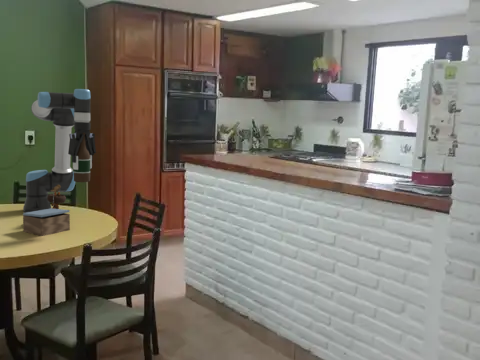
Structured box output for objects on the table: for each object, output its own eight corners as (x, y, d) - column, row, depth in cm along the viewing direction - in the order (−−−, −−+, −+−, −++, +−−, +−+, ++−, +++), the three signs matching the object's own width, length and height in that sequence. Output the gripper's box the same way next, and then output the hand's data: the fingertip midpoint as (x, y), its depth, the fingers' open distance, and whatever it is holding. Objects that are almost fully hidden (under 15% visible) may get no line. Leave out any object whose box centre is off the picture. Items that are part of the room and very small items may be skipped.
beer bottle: (83, 182, 240) (83, 132, 236) (70, 181, 242) (69, 131, 239) (93, 181, 247) (93, 132, 244) (80, 179, 250) (80, 131, 246)
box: (51, 225, 255) (51, 210, 254) (69, 230, 248) (69, 214, 247) (23, 231, 242) (23, 215, 241) (42, 236, 235) (41, 219, 234)
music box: (65, 224, 259) (64, 186, 256) (42, 225, 256) (41, 186, 253) (67, 218, 273) (66, 182, 270) (45, 218, 270) (45, 182, 268)
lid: (51, 210, 254) (51, 208, 254) (69, 212, 247) (69, 210, 247) (23, 215, 241) (22, 213, 241) (41, 217, 233) (41, 215, 233)
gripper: (93, 121, 251) (93, 166, 254) (59, 121, 234) (59, 169, 237) (103, 122, 247) (103, 167, 250) (70, 121, 230) (70, 171, 233)
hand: (82, 168), depth 244 cm, fingers closed on beer bottle, 8 cm apart
